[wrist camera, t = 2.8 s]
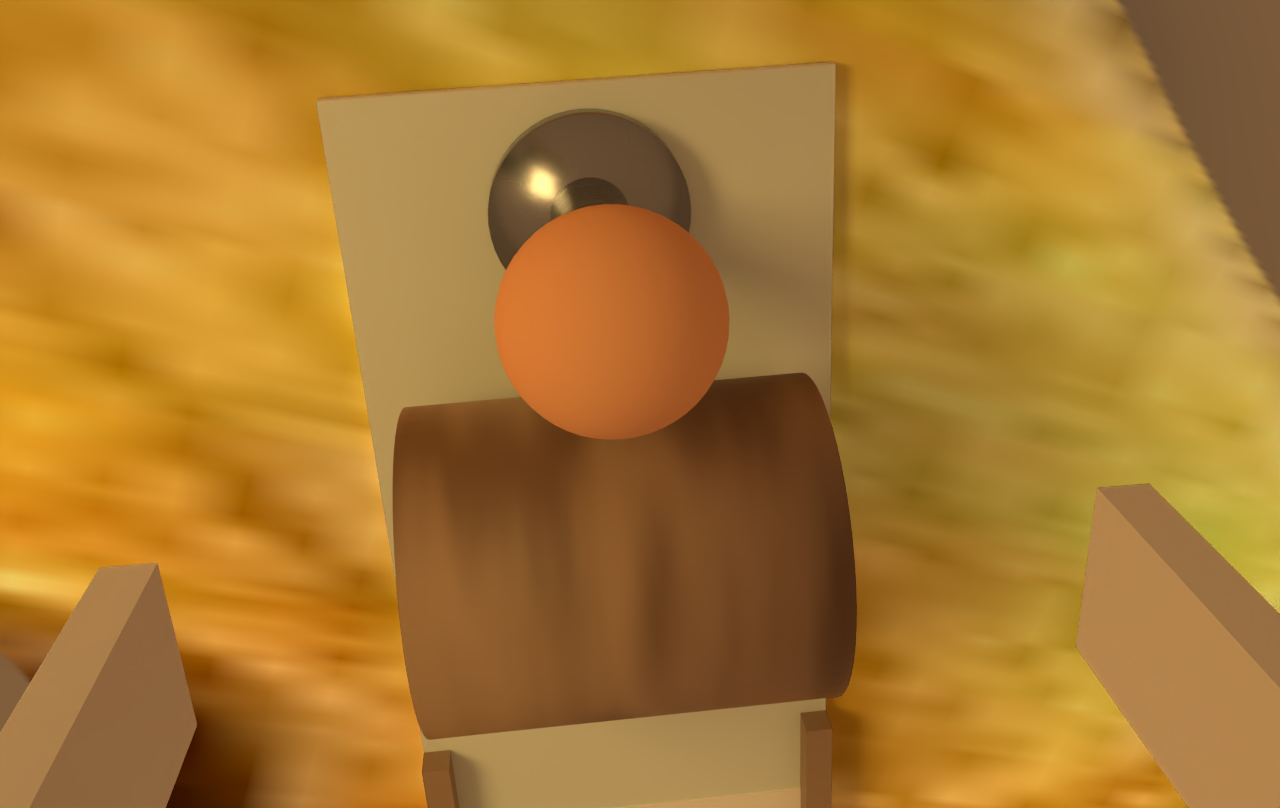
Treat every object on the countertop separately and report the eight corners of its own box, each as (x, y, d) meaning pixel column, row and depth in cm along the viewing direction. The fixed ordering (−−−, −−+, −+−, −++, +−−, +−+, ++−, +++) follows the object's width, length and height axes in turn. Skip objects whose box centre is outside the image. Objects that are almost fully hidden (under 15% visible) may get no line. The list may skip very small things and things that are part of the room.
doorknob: (499, 310, 35) (495, 404, 29) (478, 116, 32) (469, 174, 26) (690, 294, 35) (726, 383, 29) (683, 101, 33) (720, 155, 27)
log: (448, 612, 39) (430, 814, 31) (410, 356, 35) (379, 509, 27) (783, 579, 40) (852, 768, 31) (782, 325, 36) (860, 465, 28)
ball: (507, 391, 29) (505, 492, 24) (484, 187, 27) (478, 255, 22) (713, 373, 29) (750, 470, 25) (707, 170, 27) (746, 233, 22)
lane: (467, 1003, 47) (462, 1120, 43) (318, 98, 32) (287, 136, 28) (819, 961, 48) (850, 1071, 43) (832, 61, 33) (879, 93, 29)
